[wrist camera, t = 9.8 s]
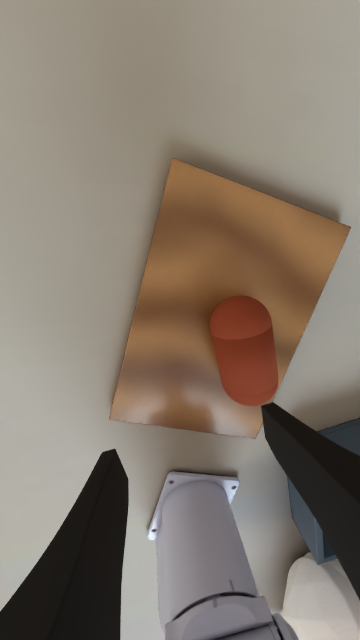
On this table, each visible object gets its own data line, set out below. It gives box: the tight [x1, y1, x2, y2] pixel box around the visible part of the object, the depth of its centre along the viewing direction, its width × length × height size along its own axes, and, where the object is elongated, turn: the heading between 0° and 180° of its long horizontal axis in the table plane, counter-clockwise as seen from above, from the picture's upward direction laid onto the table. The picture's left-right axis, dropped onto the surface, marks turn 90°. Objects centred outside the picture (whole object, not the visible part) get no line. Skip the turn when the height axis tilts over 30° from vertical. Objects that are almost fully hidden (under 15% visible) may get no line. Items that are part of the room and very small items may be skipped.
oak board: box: [109, 158, 351, 439], centre depth 19 cm, size 20×14×1 cm
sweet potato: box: [210, 295, 278, 406], centre depth 17 cm, size 8×4×4 cm, turn 14°
